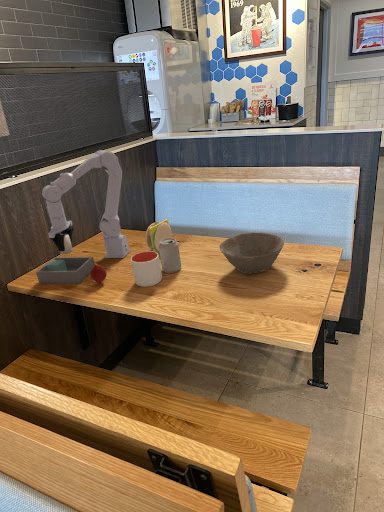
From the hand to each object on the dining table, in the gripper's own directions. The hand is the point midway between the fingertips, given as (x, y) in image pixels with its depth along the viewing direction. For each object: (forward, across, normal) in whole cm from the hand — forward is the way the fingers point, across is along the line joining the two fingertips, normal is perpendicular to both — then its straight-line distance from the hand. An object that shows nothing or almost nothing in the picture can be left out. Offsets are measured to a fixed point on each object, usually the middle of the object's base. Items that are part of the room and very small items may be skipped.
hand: (65, 248), depth 159 cm
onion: (+10, +12, +19) cm, 24 cm away
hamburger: (+10, -20, +33) cm, 39 cm away
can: (+10, 0, +44) cm, 45 cm away
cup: (+10, +10, +38) cm, 41 cm away
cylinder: (+2, 0, 0) cm, 2 cm away
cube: (+9, +6, -2) cm, 11 cm away
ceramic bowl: (+10, 0, +75) cm, 76 cm away
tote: (+9, +6, +2) cm, 11 cm away
